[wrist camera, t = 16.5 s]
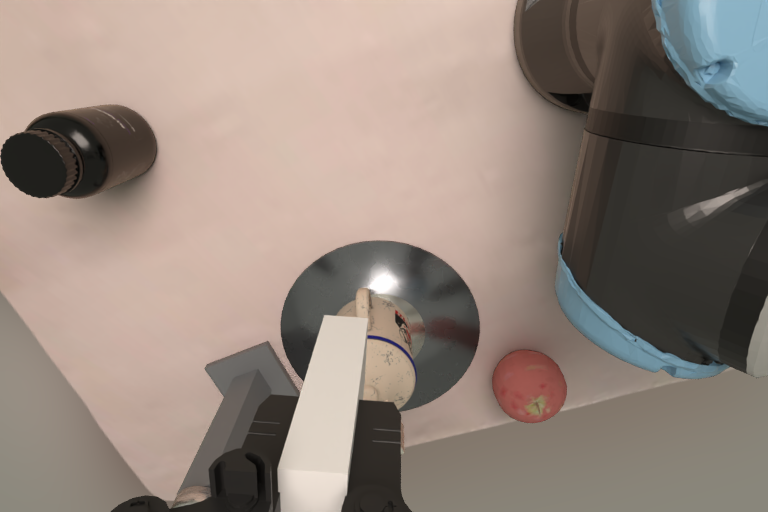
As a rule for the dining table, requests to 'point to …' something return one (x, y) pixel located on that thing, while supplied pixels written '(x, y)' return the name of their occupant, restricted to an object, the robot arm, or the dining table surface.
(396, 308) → the teacup with lid
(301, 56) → the dining table surface
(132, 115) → the supplement bottle
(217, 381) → the gauge post
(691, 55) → the robot arm
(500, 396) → the apple
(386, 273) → the turntable platter
